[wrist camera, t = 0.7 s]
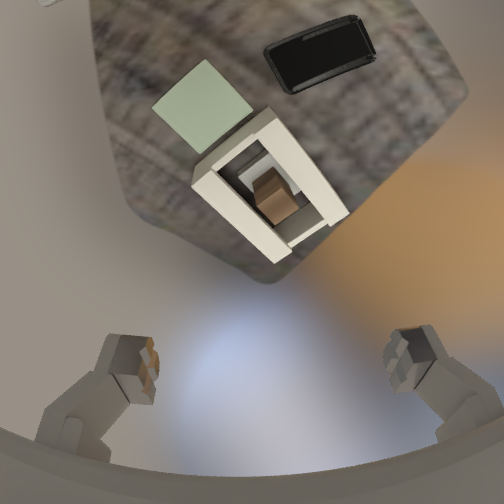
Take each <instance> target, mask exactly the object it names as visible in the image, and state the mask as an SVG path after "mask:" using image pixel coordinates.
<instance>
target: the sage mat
mask: <svg viewBox="0 0 504 504" xmlns="http://www.w3.org/2000/svg"><path fill="white" fill-rule="evenodd" d="M152 109H153V110H154V111H155V112H156V113H157V114H158V115H159V116H160V117H161V118H162V119H164V120H165V121H166V122H167V123H168V124H169V125H170V126H171V127H172V128H173V129H174V130H175V131H176V132H177V133H178V134H179V135H180V136H181V137H182V138H183V139H184V140H186V141H187V142H188V143H189V144H190V145H191V146H192V147H193V148H194V149H195V150H196V151H197V152H198V153H199V154H201V153H202V152H203V151H204V150H206V149H207V148H208V147H209V146H210V145H212V144H213V143H214V142H215V141H216V140H217V139H219V138H220V137H221V136H222V135H223V134H225V133H226V132H227V131H228V130H230V129H231V128H232V127H233V126H234V125H236V124H237V123H238V122H239V121H241V120H242V119H243V118H244V117H246V116H247V115H248V114H250V113H251V112H252V111H253V109H252V108H251V106H250V105H249V104H248V103H247V102H246V101H245V100H244V99H243V98H242V96H241V95H240V94H239V93H238V92H237V91H236V90H235V89H234V88H233V87H232V86H231V85H230V84H229V82H228V81H227V80H226V79H225V78H224V77H223V76H222V75H221V74H220V73H219V72H218V71H217V70H216V69H215V68H214V67H213V66H212V65H211V64H210V63H209V62H208V61H207V60H206V59H204V60H203V61H202V62H201V63H200V64H198V65H197V66H196V67H195V68H194V69H193V70H191V71H190V72H189V73H188V74H187V75H186V76H185V77H184V78H182V79H181V80H180V81H179V82H178V83H177V84H176V85H175V86H174V87H173V88H172V89H170V90H169V91H168V92H167V93H166V94H165V95H164V96H163V97H162V98H161V99H160V100H159V101H158V102H157V103H156V104H155V105H154V106H153V107H152Z"/></svg>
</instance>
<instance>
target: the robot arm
mask: <svg viewBox="0 0 504 504" xmlns="http://www.w3.org/2000/svg"><path fill="white" fill-rule="evenodd" d="M37 1H38V3H39V4H40V5H41V6H44V7H48V6H51V5H53V4H55V3H57V2H59V1H61V0H37ZM390 338H391V341H390V342H389V343H387V344H386V346H385V349H384V351H383V362H384V365H385V369H386V370H387V371H389V372H390V373H391V376H390V379H389V380H390V382H391V385H392V388H393V391H394V394H396V393H401V392H407V391H412V390H414V392H415V393H416V394H417V395H418V396H419V397H420V398H421V399H422V400H423V401H424V402H425V403H426V404H427V405H428V406H429V407H430V408H431V409H432V410H433V411H434V412H435V413H436V414H437V415H438V416H439V417H440V418H441V419H442V420H443V421H444V423H443V424H442V425H441V426H440V427H439V428H438V429H437V430H436V432H435V434H436V437H437V440H438V443H437V444H434V445H432V446H428V447H425V448H422V449H419V450H416V451H413V452H409V453H406V454H403V455H399V456H395V457H391V458H387V459H383V460H379V461H375V462H370V463H366V464H362V465H356V466H351V467H346V468H339V469H333V470H327V471H320V472H312V473H303V474H292V475H280V476H260V477H216V476H197V475H183V474H174V473H164V472H157V471H150V470H143V469H137V468H131V467H126V466H121V465H116V464H111V463H110V457H111V450H110V448H109V447H108V446H107V445H106V444H105V443H103V441H101V440H100V438H101V437H102V436H103V435H104V434H105V433H106V432H107V430H108V429H109V428H110V427H111V426H112V425H113V424H114V422H115V421H116V420H117V419H118V418H119V417H120V415H121V414H122V413H123V412H124V411H125V410H126V408H127V407H128V406H129V405H130V403H134V404H145V405H153V402H154V396H155V392H156V388H155V386H154V383H153V382H154V381H155V380H157V378H158V375H159V357H158V354H157V352H156V351H155V350H153V347H154V342H153V340H152V337H143V336H131V335H121V334H110V333H109V334H108V335H107V337H106V338H105V341H104V344H103V347H102V349H101V352H100V355H99V357H98V360H97V363H96V366H95V369H94V371H89V372H88V373H87V374H86V375H84V376H83V377H82V378H81V379H80V380H79V381H77V382H76V383H75V384H74V385H73V386H71V387H70V388H69V389H68V390H67V391H66V392H64V393H63V394H62V395H61V396H60V397H58V398H57V399H56V400H55V401H54V402H53V403H51V404H50V405H49V406H48V407H47V408H45V410H44V413H43V416H42V419H41V422H40V425H39V428H38V431H37V434H36V437H35V440H34V441H32V440H30V439H27V438H25V437H22V436H20V435H17V434H15V433H12V432H10V431H8V430H5V429H3V428H1V427H0V504H504V407H503V405H502V403H501V400H500V398H499V396H498V394H497V392H496V390H495V388H494V387H493V386H492V385H490V384H489V383H488V382H486V381H485V380H484V379H482V378H481V377H479V376H478V375H477V374H476V373H474V372H473V371H472V370H470V369H469V368H467V367H466V366H464V365H463V364H462V363H460V362H459V361H457V360H456V359H455V358H453V357H449V356H448V354H447V352H446V350H445V348H444V346H443V344H442V342H441V341H440V339H439V337H438V335H437V333H436V331H435V330H434V328H433V326H431V325H422V326H413V327H406V328H399V329H395V330H393V331H392V333H391V335H390Z"/></svg>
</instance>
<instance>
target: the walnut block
mask: <svg viewBox="0 0 504 504" xmlns="http://www.w3.org/2000/svg"><path fill="white" fill-rule="evenodd" d="M252 186H253V191H254V196H255V201H256V206H257V207H258V208H259V209H260V210H261V211H262V212H263V213H264V214H265V215H266V216H267V217H268V218H269V220H270V221H271V222H272V223H273V224H274V225H276V224H278V223H279V222H281V221H282V220H283V219H285V218H286V217H288V216H289V215H291V214H292V213H293V212H295V211H296V210H298V209H299V207H298V204H297V202H296V199H295V197H294V195H293V192H292V190H291V188H290V185H289V184H288V183H287V181H286V180H285V179H284V178H283V177H282V176H281V174H280V173H279V172H278V171H277V170H276V169H275V167H274V166H273V167H271V168H270V169H269V170H267V171H266V172H265V173H263V174H262V175H261V176H259V177H258V178H257V179H255V180H254V181H253V182H252Z"/></svg>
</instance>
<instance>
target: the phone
mask: <svg viewBox="0 0 504 504" xmlns="http://www.w3.org/2000/svg"><path fill="white" fill-rule="evenodd" d="M264 55H265V58H266V59H267V61H268V63H269V65H270V66H271V68H272V70H273V72H274V73H275V75H276V77H277V79H278V81H279V83H280V84H281V86H282V88H283V90H284V91H285V92H286V93H288V94H290V95H293V94H296V93H298V92H301V91H303V90H305V89H307V88H310V87H312V86H314V85H316V84H319V83H321V82H323V81H326V80H328V79H331V78H333V77H335V76H338V75H340V74H343V73H345V72H348V71H351V70H353V69H356V68H358V67H361V66H364V65H367V64H369V63H372V62H374V61H375V60H376V56H377V55H376V52H375V50H374V47H373V45H372V42H371V40H370V38H369V35H368V33H367V31H366V29H365V27H364V24H363V22H362V20H361V19H360V18H359V17H358V16H356V15H349V16H346V17H345V16H344V17H341V18H340V19H335V20H332V21H331V22H330V21H328V22H326V23H325V24H322V25H319V26H317V27H314V28H311V29H309V30H306V31H303V32H301V33H298V34H296V35H293V36H291V37H289V38H286V39H284V40H282V41H279V42H277V43H275V44H272V45H270V46H268V47H267V48H266V49H265V51H264Z"/></svg>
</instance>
